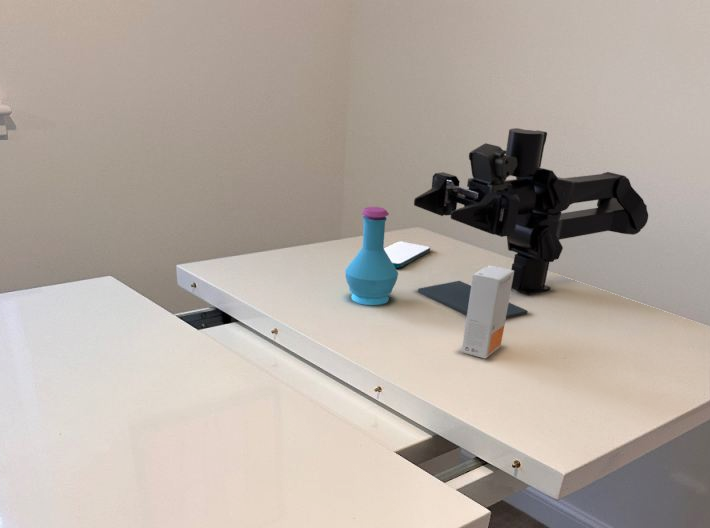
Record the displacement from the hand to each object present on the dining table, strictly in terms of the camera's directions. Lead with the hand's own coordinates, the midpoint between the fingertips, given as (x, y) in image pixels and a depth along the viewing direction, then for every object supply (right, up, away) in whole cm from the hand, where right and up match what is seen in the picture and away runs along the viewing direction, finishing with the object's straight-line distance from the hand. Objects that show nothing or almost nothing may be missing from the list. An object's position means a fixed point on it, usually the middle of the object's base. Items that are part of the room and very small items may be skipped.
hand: (432, 208), depth 114 cm
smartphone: (-3, +5, +35) cm, 35 cm away
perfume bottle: (-10, -10, +14) cm, 20 cm away
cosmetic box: (+7, -23, -3) cm, 25 cm away
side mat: (+8, -11, +14) cm, 20 cm away
